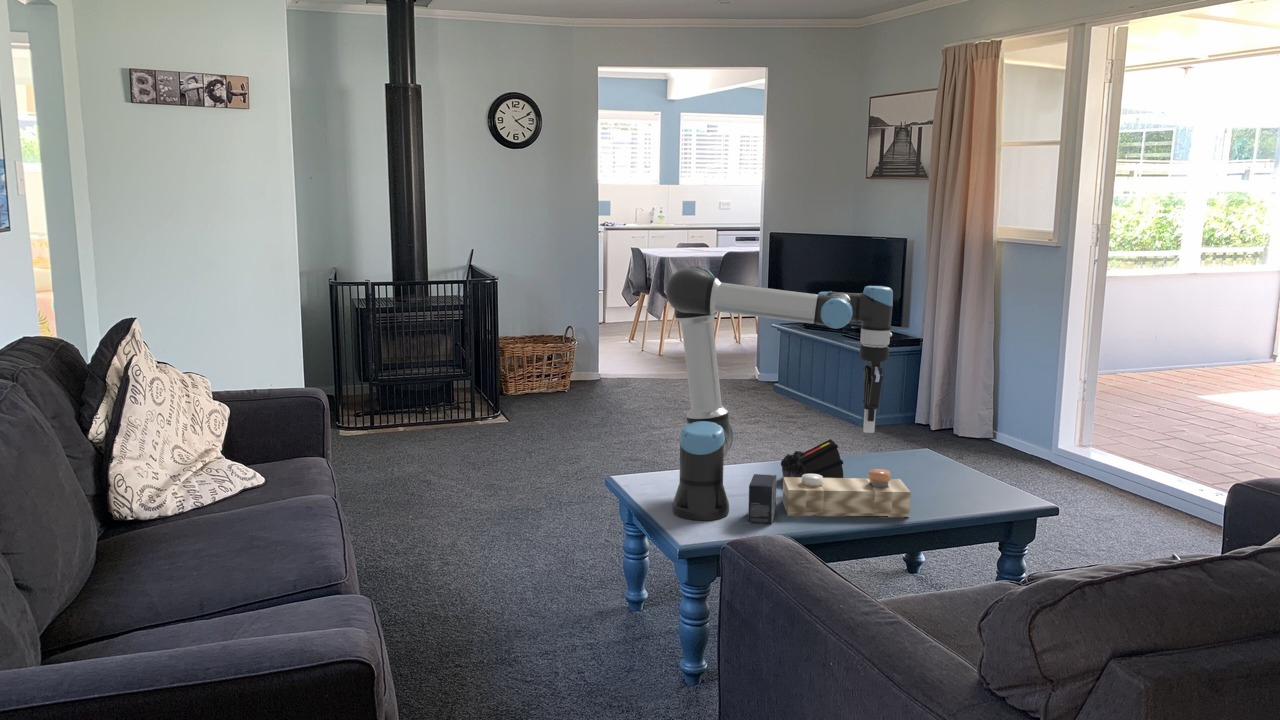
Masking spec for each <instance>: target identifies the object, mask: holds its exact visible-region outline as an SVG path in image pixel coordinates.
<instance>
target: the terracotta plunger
mask: <svg viewBox="0 0 1280 720" xmlns="http://www.w3.org/2000/svg"><path fill="white" fill-rule="evenodd" d="M868 479H870V485H871V486H872V487H881V488H888V481H890V479H891V471H889V470H888V469H884V468H883V469H882V468H873V469H870V470H869V471H868Z"/></svg>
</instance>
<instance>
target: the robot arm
mask: <svg viewBox="0 0 1280 720" xmlns="http://www.w3.org/2000/svg"><path fill="white" fill-rule="evenodd" d="M667 281H668V282H667V283H666V287H665V296H666V299H667V302H668V304H670V306H671V307H672V308H673V309H674V319H675V320H677V322H679V323H680V324H681V330H682V339H683V348H684V357H685V365H686V366H685V367H686V373H687V375H686V376H687V383H688V385H687V386H688V395H689V400H690V401H689V402H690V409H689V411H688V412H687V414H686V424H685V425H683V427H682V428H681V429H680V435H679V440H678V441H679V484H678V486H677V489H676V492H675V495H674V497H673V501H672V513H673V514H674V515H675V516H678V517H680V518H684V519H687V520H693V521H713V520H718V519H722V518H725V517H727V516H728V515H729V513H730V503H729V500H728V499H729V498H728V497H727V492H726V490H725V486H724V462H725V461H724V458H725V456H726V455H727V454H728V452H729V451H730V449H731V448H732V446H733V442H734V431H733V428H732V426H731V424H730V418H729V411H728V409H727V408H725V407H724V406H723V404H722V396H721V385H720V376H719V366H718V359H717V358H718V357H717V356H718V355H717V348H716V340H715V339H716V338H715V331H714V320H715V318H716V316H717V315H718V313H719V312H720V313H725V314H726V313H727V314H732V315H733V314H734V315H742V316H751V317H760V318H766V319H773V320H782V321H790V322H796V323H797V322H798V323H799V322H800V323H804V324H805V323H807V324H815V325H820V326H826V327H828V328H830V329H837V330H838V329H841V328H844V327H845V326H847V325H848V324H849V323H850V322H855V323H856V322H861V328H860V343H861V345H860V346H859V357H858V358H859V359H860V360H862V361H866V362H865V363H866V365H864V366H863V369H862V370H863V397H862V398H863V400H862V403H864V406H863V409H864V410H863V411H864V414H863V428H862V431H863V433H864V434H872V433H873V434H874V433H875V429H876V413H877V409H879V405H880V398H881V395H880V394H881V390H882V384H883V383H882V382H883V378H884V376H883V368H882V367H881V363H882V362H887V361H889V357H890V347H889V346H888V345H890V344H891V343H890V341H891V340H890V339H891V338H890V337H893V333H892V332H891V327H892V317H893V305H894V303H893V301H894V300H893V299H894V298H893V297H894V291H893V289H892V288H891V287H888V286H884V285H867V286H864V289H863V292H859V293H858V292H856V293H855V292H842V291H841V292H838V291H837V292H836V291H832V290H830V291H820V292H818V294H816V293H808V292H799V291H791V290H782V289H776V288H767V287H758V286H752V285H743V284H735V283H727V282H721V281H720V280H719V278H717V277H715V275H714V274H713V273H712V272H711V271H709V270H708V269H707V268H705V267H701V266H698V265H695V266H693V265H691V266H687V267H685V268H683V269H680V270H678V271H676V272H674V273H673V274H672V275H671V276H670V278H669V279H668V280H667Z"/></svg>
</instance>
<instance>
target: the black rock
mask: <svg viewBox="0 0 1280 720" xmlns="http://www.w3.org/2000/svg"><path fill="white" fill-rule="evenodd" d="M804 452H805V451H804ZM804 452H803V451H801V450H795V451H794V452H793V454H789V453H788V454H786V455H785V457H784V458H783V459H781V462H780V466H781V472H782V478H783V477H802V475H803V473H802V472H803V471H804V470H803V466H802V464H801V463H800V462H799V461H798V459H799V457H798V455H800V454H802V453H804Z"/></svg>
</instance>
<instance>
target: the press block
mask: <svg viewBox="0 0 1280 720" xmlns="http://www.w3.org/2000/svg"><path fill="white" fill-rule="evenodd" d="M782 481H783V482H782V503H783V507H784V509H785V511H786V514H787V515H786V516H789V517H790V516H792V517H793V516H794V517H796V516H799V517H846V516H888V517H887V518H904V517H909V518H910V512H911V511H910V510H911V509H910V508H911V496H912V494H911V491H910V489H909V488H908V487H907V486H906V484H905V483H904V482H903V480H901V478H890V481H888V488H881V487H872V486H871V485H870V479H869V477H868V478H866V477H865V478H863V477H861V478H859V477H857V478H855V477H844V478H823V484H822V485H821V487H820V486H817V487H811V486H804V485H803V484H802V483H801V482H802V477H783V476H782ZM812 515H813V516H812ZM814 515H816V516H814ZM817 515H818V516H817Z"/></svg>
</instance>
